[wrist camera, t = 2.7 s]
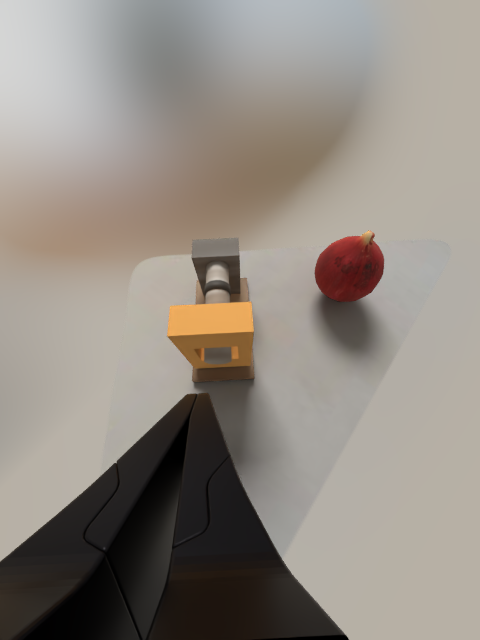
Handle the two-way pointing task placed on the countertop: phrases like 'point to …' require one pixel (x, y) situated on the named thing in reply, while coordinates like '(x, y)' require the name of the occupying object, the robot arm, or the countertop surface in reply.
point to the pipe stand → (219, 299)
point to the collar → (212, 331)
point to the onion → (350, 268)
